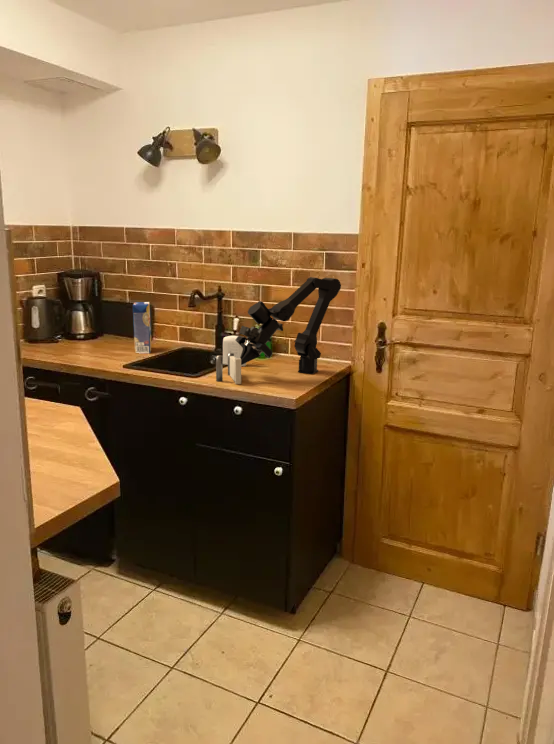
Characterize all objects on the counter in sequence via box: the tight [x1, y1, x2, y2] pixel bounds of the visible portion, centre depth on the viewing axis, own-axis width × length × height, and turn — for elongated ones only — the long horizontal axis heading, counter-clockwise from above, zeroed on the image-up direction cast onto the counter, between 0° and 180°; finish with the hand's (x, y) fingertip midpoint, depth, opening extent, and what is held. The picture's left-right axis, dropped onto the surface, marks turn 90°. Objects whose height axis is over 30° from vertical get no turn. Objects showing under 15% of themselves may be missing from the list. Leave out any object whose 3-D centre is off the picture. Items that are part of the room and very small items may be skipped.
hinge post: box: [227, 353, 234, 376], centre depth 221 cm, size 2×2×8 cm
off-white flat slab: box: [229, 356, 242, 385], centre depth 213 cm, size 14×2×9 cm, turn 15°
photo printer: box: [222, 335, 247, 367], centre depth 237 cm, size 10×4×12 cm, turn 73°
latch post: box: [215, 355, 224, 382], centre depth 211 cm, size 2×2×10 cm
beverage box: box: [132, 301, 152, 354], centre depth 261 cm, size 7×11×22 cm, turn 9°
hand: (239, 363), depth 210 cm, fingers closed
